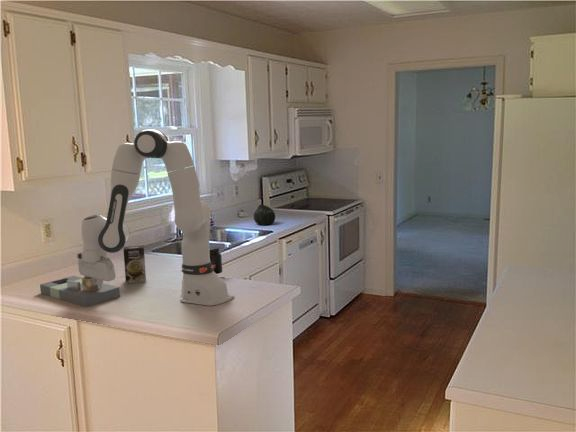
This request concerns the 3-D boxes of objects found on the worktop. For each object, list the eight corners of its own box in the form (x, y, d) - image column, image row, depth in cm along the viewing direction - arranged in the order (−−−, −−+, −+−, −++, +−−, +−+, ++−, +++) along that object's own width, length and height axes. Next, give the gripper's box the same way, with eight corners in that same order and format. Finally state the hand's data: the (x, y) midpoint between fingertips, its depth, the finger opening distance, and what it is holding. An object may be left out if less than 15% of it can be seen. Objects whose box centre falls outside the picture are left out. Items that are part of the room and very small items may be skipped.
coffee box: (125, 284, 242) (122, 249, 240) (125, 280, 248) (123, 246, 246) (146, 282, 245) (143, 247, 242) (146, 278, 251) (143, 244, 248)
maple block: (100, 288, 222) (99, 276, 222) (89, 291, 219) (88, 279, 218) (93, 286, 225) (92, 275, 225) (82, 289, 222) (81, 278, 221)
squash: (280, 217, 376) (272, 200, 382) (261, 220, 368) (253, 203, 374) (273, 228, 386) (265, 211, 393) (255, 231, 379) (247, 214, 385)
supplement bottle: (212, 270, 262) (211, 246, 260) (225, 271, 259) (223, 246, 257) (205, 273, 255) (204, 249, 254) (218, 274, 253) (216, 250, 251)
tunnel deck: (120, 296, 225) (118, 278, 223) (85, 307, 212) (84, 288, 211) (74, 284, 245) (73, 268, 244) (40, 293, 232) (39, 276, 231)
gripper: (117, 256, 213) (120, 290, 215) (87, 250, 225) (90, 282, 227) (104, 260, 208) (106, 294, 210) (74, 253, 220) (77, 286, 222)
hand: (98, 288), depth 219 cm, fingers closed
